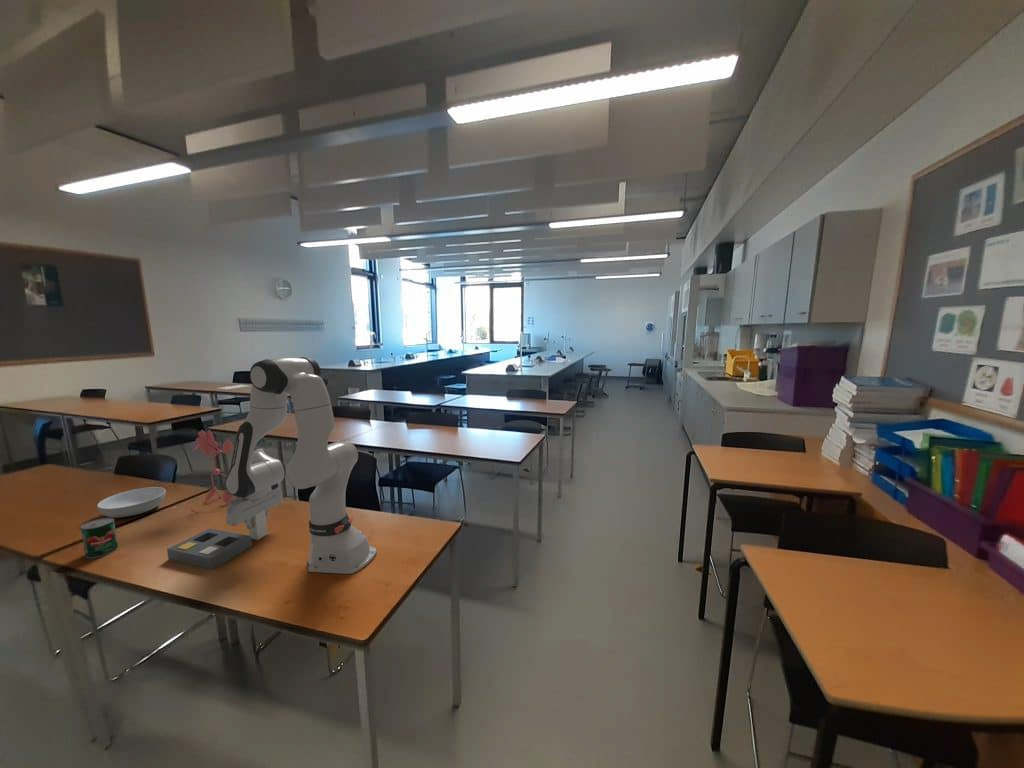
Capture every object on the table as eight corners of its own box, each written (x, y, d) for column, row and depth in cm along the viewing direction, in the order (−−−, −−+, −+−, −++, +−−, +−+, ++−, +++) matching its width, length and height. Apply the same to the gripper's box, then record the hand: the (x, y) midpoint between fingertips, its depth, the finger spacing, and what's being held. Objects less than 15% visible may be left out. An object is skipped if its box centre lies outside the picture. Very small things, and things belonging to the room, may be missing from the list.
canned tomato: (106, 544, 137) (102, 516, 135) (124, 546, 135) (120, 518, 134) (78, 557, 129) (73, 527, 127) (97, 559, 128) (92, 529, 126)
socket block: (252, 546, 136) (250, 535, 135) (212, 569, 122) (210, 557, 122) (211, 538, 141) (209, 527, 140) (168, 559, 128) (166, 548, 127)
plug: (267, 534, 144) (265, 509, 142) (257, 539, 140) (255, 514, 139) (259, 532, 145) (256, 508, 143) (249, 538, 141) (247, 513, 140)
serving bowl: (84, 523, 152) (81, 507, 151) (137, 500, 173) (134, 486, 172) (133, 524, 151) (130, 508, 150) (180, 501, 172) (178, 487, 171)
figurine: (210, 493, 180) (201, 423, 174) (250, 501, 172) (241, 428, 166) (174, 508, 165) (161, 432, 160) (215, 517, 157) (204, 437, 152)
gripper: (233, 503, 129) (237, 540, 131) (283, 481, 149) (286, 513, 150) (219, 501, 131) (223, 538, 133) (271, 479, 150) (274, 511, 152)
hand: (257, 524), depth 142 cm, fingers closed on plug, 4 cm apart
